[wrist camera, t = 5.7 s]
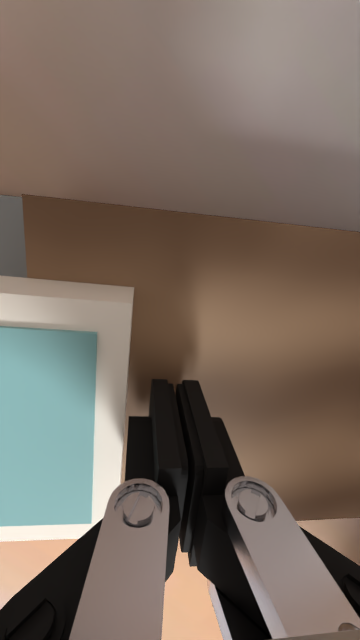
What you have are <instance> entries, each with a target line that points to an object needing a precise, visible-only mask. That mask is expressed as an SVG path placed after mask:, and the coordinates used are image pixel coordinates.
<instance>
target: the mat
mask: <svg viewBox="0 0 360 640" xmlns="http://www.w3.org/2000/svg"><path fill="white" fill-rule="evenodd" d="M0 276H11V277H22V278H27V266H26V251H25V235H24V220H23V204H22V197H16V196H7V195H0Z"/></svg>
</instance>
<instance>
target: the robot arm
mask: <svg viewBox="0 0 360 640" xmlns="http://www.w3.org/2000/svg"><path fill="white" fill-rule="evenodd" d="M178 539H180V547H181V552H188V558H189V565H190V566H197V569H198V570H199V571H200V572H201V573H202V574H203V575H204V576H205V577H206V578H207V585H208V590H209V594H210V597H211V601H212V604H213V607H214V610H215V614H216V617H217V620H218V624H219V627H220V630H221V633H222V637H223V640H360V566H359V565H357V564H356V563H354V562H353V561H351V560H350V559H348V558H347V557H345V556H344V555H342V554H341V553H339V552H338V551H336V550H335V549H333V548H331V547H330V546H328V545H327V544H325V543H324V542H322V541H321V540H319V539H318V538H316V537H315V536H313V535H312V534H310V533H309V532H307V531H306V530H304V529H303V528H301V527H300V526H299V525H298V524H297V522H296V521H295V519H294V518H293V516H292V515H291V513H290V512H289V510H288V509H287V507H286V506H285V504H284V503H283V501H282V500H281V498H280V497H279V495H278V494H277V493H276V491H275V490H274V489H273V488H272V487H271V486H269V485H268V484H267V483H266V482H264V481H262V480H260V479H258V478H254V477H250V476H245V475H244V472H243V470H242V467H241V465H240V462H239V460H238V457H237V455H236V452H235V450H234V447H233V445H232V442H231V440H230V437H229V435H228V432H227V430H226V427H225V425H224V422H223V420H222V418H220V417H211V415H210V412H209V409H208V406H207V404H206V401H205V398H204V395H203V392H202V389H201V386H200V384H199V381H198V380H183V381H182V384H177V386H176V393H175V391H174V386H173V384H171V383H168V381H167V379H152V381H151V392H150V403H149V415H148V416H129V419H128V435H127V451H126V467H125V482H124V483H122V484H120V485H119V486H118V487H117V488H116V489H115V490H114V491H113V492H112V494H111V496H110V498H109V500H108V503H107V507H106V510H105V514H104V517H103V518H102V519H101V520H100V521H99V522H98V523H97V524H95V525H94V526H93V527H92V528H91V529H90V530H89V531H87V532H86V533H85V534H84V535H83V536H82V537H81V538H79V539H78V540H77V541H76V542H75V543H74V544H73V545H71V546H70V547H69V548H68V549H67V550H66V551H65V552H63V553H62V554H61V555H60V556H59V557H58V558H57V559H55V560H54V561H53V562H52V563H51V564H50V565H49V566H47V567H46V568H45V569H44V570H43V571H42V572H41V573H39V574H38V575H37V576H36V577H35V578H34V579H33V580H31V581H30V582H29V583H28V584H27V585H26V586H25V587H23V588H22V589H21V590H20V591H19V592H18V593H17V594H15V595H14V596H13V597H12V598H11V599H10V600H9V601H8V602H7V603H6V605H5V606H4V607H3V608H2V609H1V610H0V640H161V637H162V621H163V604H164V588H165V582H166V581H167V579H168V578H169V576H170V575H171V574H172V572H173V569H174V563H175V556H176V552H177V546H178Z"/></svg>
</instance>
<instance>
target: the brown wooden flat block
mask: <svg viewBox="0 0 360 640" xmlns="http://www.w3.org/2000/svg"><path fill="white" fill-rule="evenodd" d="M22 204H23V220H24V235H25V251H26V266H27V278H34V279H45V280H57V281H68V282H80V283H91V284H103V285H114V286H126V287H134V298H133V313H132V328H131V342H130V357H129V372H128V386H127V401H126V416H125V431H124V445H123V460H122V475H121V484H122V483H124V482H125V467H126V451H127V435H128V419H129V416H148V415H149V403H150V392H151V381H152V379H167V381H168V383H171V384H173V386H174V391H175V393H176V386H177V384H182V381H183V380H198V381H199V384H200V386H201V389H202V392H203V395H204V398H205V401H206V404H207V406H208V409H209V412H210V415H211V417H220V418H222V420H223V422H224V425H225V427H226V430H227V432H228V435H229V437H230V440H231V442H232V445H233V447H234V450H235V452H236V455H237V457H238V460H239V462H240V465H241V467H242V470H243V472H244V475H245V476H250V477H254V478H258V479H260V480H262V481H264V482H266V483H267V484H268V485H269V486H271V487H272V488H273V489H274V490H275V491H276V493H277V494H278V495H279V497H280V498H281V500H282V501H283V503H284V504H285V506H286V507H287V509H288V510H289V512H290V513H291V515H292V516H293V518H294V519H295V521H302V520H321V519H341V518H360V232H355V231H346V230H337V229H328V228H319V227H311V226H302V225H293V224H284V223H275V222H266V221H257V220H248V219H239V218H230V217H221V216H212V215H203V214H194V213H186V212H177V211H168V210H159V209H150V208H141V207H132V206H123V205H114V204H105V203H96V202H87V201H78V200H69V199H61V198H52V197H43V196H34V195H25V194H22Z"/></svg>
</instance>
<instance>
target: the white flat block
mask: <svg viewBox="0 0 360 640" xmlns="http://www.w3.org/2000/svg"><path fill="white" fill-rule="evenodd" d="M133 298H134V287H126V286H114V285H103V284H91V283H80V282H68V281H57V280H45V279H34V278H22V277H11V276H0V542H2V541H28V540H54V539H79V538H81V537H82V536H83V535H84V534H85V533H86V532H87V531H89V530H90V529H91V528H92V527H93V526H94V525H95V524H97V523H98V522H99V521H100V520H101V519H102V518H103V517H104V514H105V510H106V507H107V503H108V500H109V498H110V496H111V494H112V492H113V491H114V490H115V489H116V488H117V487H118V486H119V485H120V484H121V475H122V460H123V445H124V431H125V416H126V401H127V386H128V372H129V357H130V342H131V328H132V313H133Z"/></svg>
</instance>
